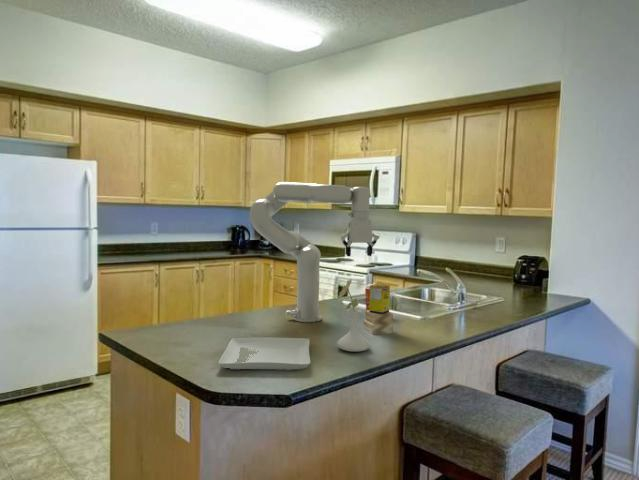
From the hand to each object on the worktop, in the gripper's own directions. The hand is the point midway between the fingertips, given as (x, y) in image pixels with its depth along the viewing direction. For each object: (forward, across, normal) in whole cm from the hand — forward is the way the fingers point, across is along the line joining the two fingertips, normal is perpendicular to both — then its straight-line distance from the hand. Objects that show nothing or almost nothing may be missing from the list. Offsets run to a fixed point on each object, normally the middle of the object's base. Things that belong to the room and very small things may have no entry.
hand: (358, 255), depth 203 cm
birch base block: (+29, +2, -17) cm, 33 cm away
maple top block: (+25, +2, -17) cm, 30 cm away
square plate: (+29, -48, -40) cm, 69 cm away
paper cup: (+28, +11, +8) cm, 32 cm away
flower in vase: (+28, -18, -38) cm, 51 cm away
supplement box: (+21, +2, -17) cm, 27 cm away
